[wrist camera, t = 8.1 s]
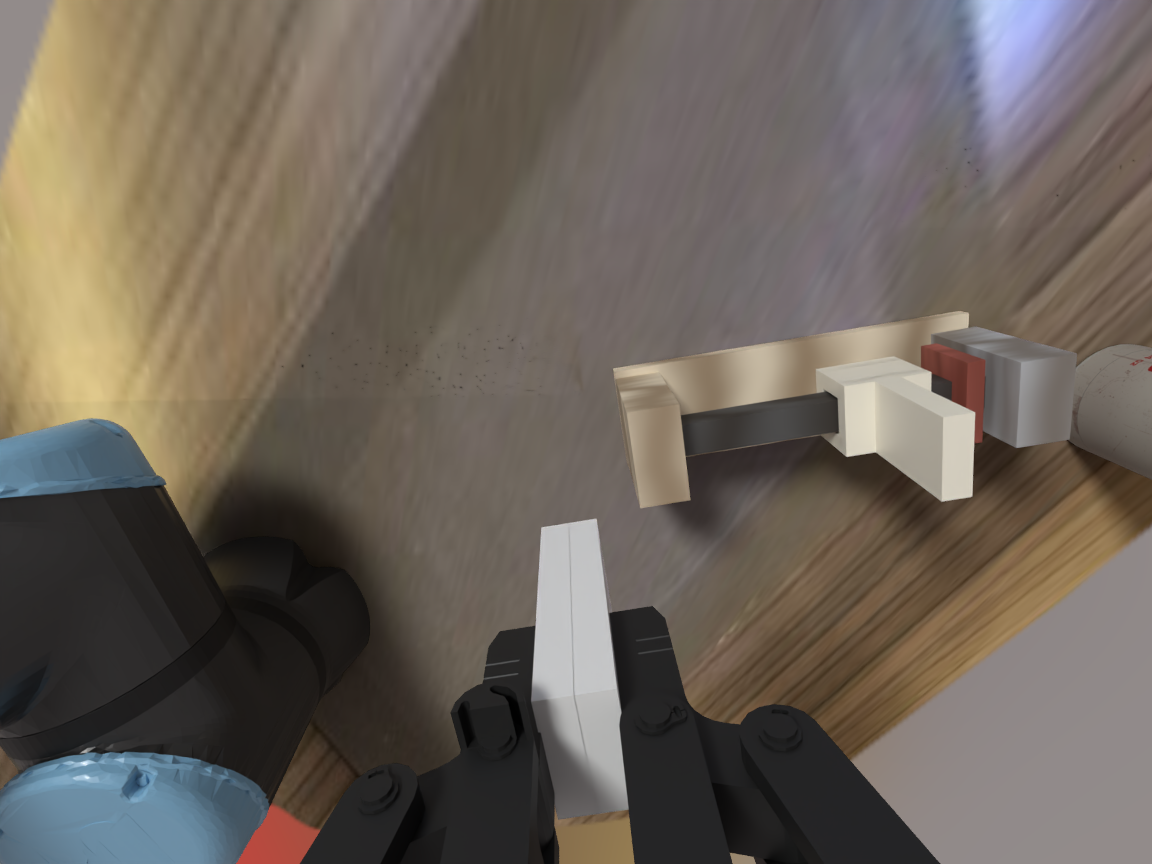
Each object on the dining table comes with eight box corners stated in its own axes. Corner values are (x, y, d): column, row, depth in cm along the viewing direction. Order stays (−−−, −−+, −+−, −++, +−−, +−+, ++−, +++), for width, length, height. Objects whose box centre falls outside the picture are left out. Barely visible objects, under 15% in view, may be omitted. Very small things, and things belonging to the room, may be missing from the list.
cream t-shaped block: (818, 433, 43) (906, 507, 32) (815, 369, 41) (906, 423, 31) (894, 421, 43) (1008, 491, 32) (893, 356, 41) (1012, 406, 30)
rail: (626, 461, 47) (643, 523, 38) (613, 368, 45) (627, 409, 35) (964, 406, 46) (1068, 455, 37) (967, 309, 44) (1078, 335, 35)
